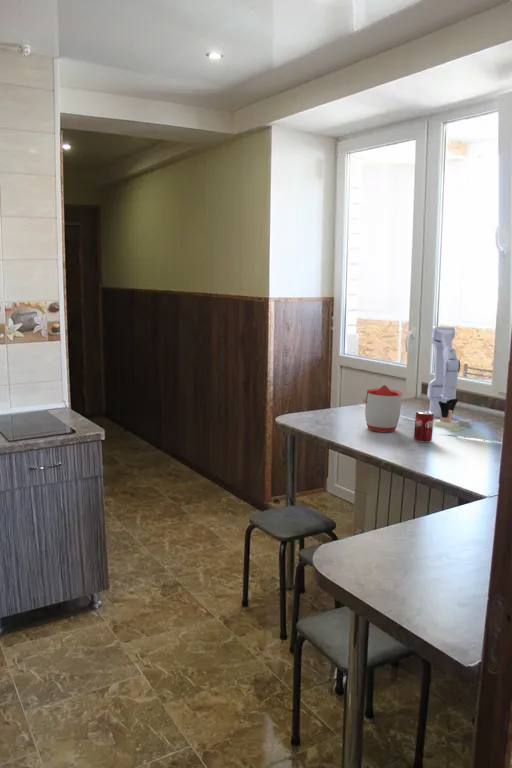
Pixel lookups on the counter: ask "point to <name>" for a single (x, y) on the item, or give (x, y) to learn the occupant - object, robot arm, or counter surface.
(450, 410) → the salmon pink block
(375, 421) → the citrus juicer
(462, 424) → the grey brick
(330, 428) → the counter surface
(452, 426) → the cream square slab
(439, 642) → the counter surface
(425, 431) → the soda can
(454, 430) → the baseplate
